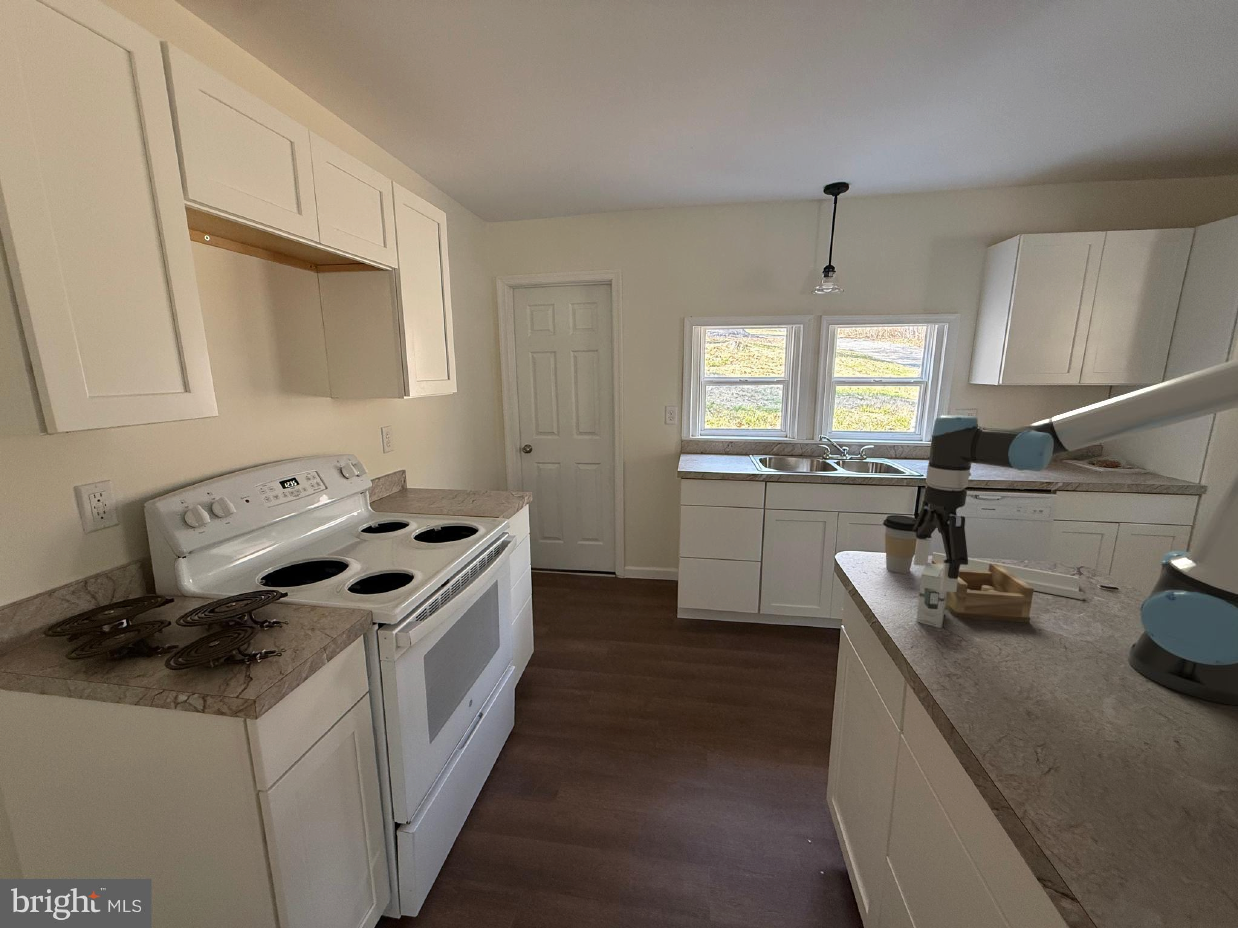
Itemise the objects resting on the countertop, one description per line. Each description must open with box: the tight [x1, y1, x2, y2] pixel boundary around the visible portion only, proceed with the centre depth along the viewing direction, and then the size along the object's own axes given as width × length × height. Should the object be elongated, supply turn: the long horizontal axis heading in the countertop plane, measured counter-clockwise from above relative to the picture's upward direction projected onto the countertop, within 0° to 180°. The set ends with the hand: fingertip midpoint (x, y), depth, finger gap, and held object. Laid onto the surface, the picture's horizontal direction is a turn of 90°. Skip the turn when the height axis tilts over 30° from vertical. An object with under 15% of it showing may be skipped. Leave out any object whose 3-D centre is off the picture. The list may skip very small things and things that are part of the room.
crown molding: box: [931, 551, 1084, 601], centre depth 128 cm, size 31×12×4 cm, turn 54°
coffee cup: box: [882, 514, 920, 574], centre depth 133 cm, size 9×9×15 cm
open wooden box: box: [931, 559, 1034, 624], centre depth 112 cm, size 14×15×8 cm
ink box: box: [915, 562, 947, 629], centre depth 107 cm, size 9×5×12 cm, turn 141°
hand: (933, 577), depth 106 cm, fingers open, 13 cm apart
